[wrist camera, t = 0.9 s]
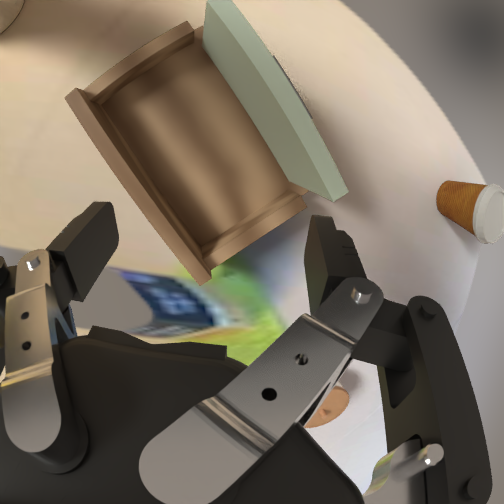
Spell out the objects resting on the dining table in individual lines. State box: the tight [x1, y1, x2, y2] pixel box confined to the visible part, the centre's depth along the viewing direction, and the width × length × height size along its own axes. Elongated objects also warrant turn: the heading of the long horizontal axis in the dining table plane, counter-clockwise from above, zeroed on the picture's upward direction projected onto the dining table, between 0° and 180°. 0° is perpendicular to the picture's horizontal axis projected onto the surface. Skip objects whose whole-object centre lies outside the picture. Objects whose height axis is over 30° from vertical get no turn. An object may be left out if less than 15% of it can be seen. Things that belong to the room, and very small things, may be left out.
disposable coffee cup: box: [437, 181, 504, 244], centre depth 38 cm, size 10×10×12 cm
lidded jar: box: [304, 381, 349, 428], centre depth 47 cm, size 11×11×9 cm
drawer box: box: [65, 21, 308, 286], centre depth 29 cm, size 16×26×9 cm, turn 32°
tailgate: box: [202, 0, 349, 202], centre depth 25 cm, size 2×19×12 cm, turn 32°
